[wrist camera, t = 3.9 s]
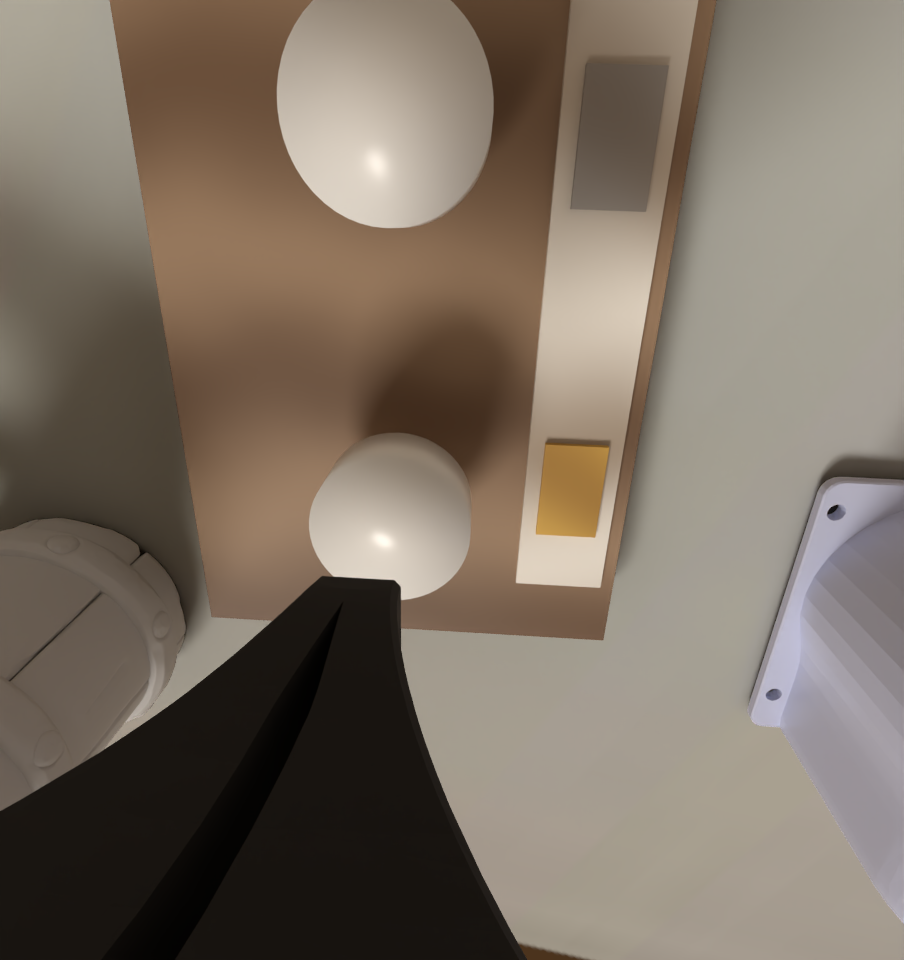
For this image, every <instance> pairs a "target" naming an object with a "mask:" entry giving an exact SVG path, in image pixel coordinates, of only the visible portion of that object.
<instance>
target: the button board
mask: <svg viewBox="0 0 904 960" xmlns="http://www.w3.org/2000/svg"><path fill="white" fill-rule="evenodd" d="M312 1H313V0H110V5H111V11H112V17H113V23H114V29H115V35H116V41H117V47H118V53H119V59H120V66H121V72H122V78H123V84H124V90H125V96H126V102H127V108H128V114H129V120H130V126H131V132H132V138H133V144H134V150H135V156H136V162H137V168H138V174H139V180H140V186H141V192H142V198H143V205H144V211H145V217H146V223H147V229H148V235H149V241H150V247H151V253H152V259H153V265H154V271H155V277H156V283H157V289H158V295H159V301H160V307H161V313H162V319H163V325H164V331H165V337H166V343H167V350H168V356H169V362H170V368H171V374H172V380H173V386H174V392H175V398H176V404H177V410H178V416H179V422H180V428H181V434H182V440H183V446H184V452H185V458H186V464H187V470H188V476H189V482H190V489H191V495H192V501H193V507H194V513H195V519H196V525H197V531H198V537H199V543H200V549H201V555H202V561H203V567H204V573H205V579H206V585H207V591H208V597H209V603H210V609H211V615H212V617H220V618H237V619H254V620H270V621H273V620H274V619H275V618H276V617H277V616H278V615H279V614H281V613H282V612H283V611H284V610H285V609H286V608H287V607H288V606H289V605H290V604H291V603H292V602H294V601H295V600H296V599H297V598H298V597H299V596H300V595H301V594H302V593H303V592H304V591H305V590H306V589H307V588H309V587H310V586H311V585H312V584H313V583H314V582H315V581H316V580H318V579H319V578H320V577H321V576H332V577H334V576H333V575H331V574H330V573H329V572H328V570H327V569H326V568H325V567H324V565H323V564H322V563H321V561H320V560H319V558H318V556H317V554H316V552H315V550H314V548H313V545H312V542H311V538H310V532H309V516H310V510H311V506H312V503H313V500H314V498H315V496H316V494H317V492H318V491H319V489H320V487H321V486H322V484H323V483H324V481H325V479H326V478H327V476H328V475H329V473H330V471H331V470H332V468H333V467H334V465H335V463H336V462H337V461H338V459H339V458H340V457H341V455H342V454H343V453H344V452H345V451H346V450H347V449H349V448H350V447H351V446H352V445H354V444H356V443H357V442H359V441H361V440H363V439H365V438H368V437H370V436H374V435H377V434H383V433H407V434H412V435H416V436H420V437H422V438H425V439H428V440H430V441H432V442H434V443H435V444H437V445H439V446H440V447H442V448H443V449H444V450H446V451H447V452H448V453H449V454H450V455H451V456H452V457H453V458H454V459H455V460H456V461H457V463H458V464H459V465H460V467H461V468H462V470H463V472H464V474H465V476H466V478H467V480H468V483H469V487H470V491H471V503H472V506H471V532H470V544H469V549H468V552H467V556H466V558H465V560H464V562H463V564H462V566H461V567H460V569H459V570H458V572H457V573H456V574H455V575H454V576H453V577H452V578H451V579H450V580H449V581H448V582H447V583H446V584H445V585H443V586H442V587H440V588H439V589H437V590H435V591H433V592H431V593H429V594H426V595H424V596H421V597H417V598H412V599H406V600H401V628H405V629H422V630H439V631H456V632H473V633H490V634H506V635H523V636H540V637H557V638H574V639H591V640H603V638H604V633H605V627H606V621H607V616H608V610H609V604H610V599H611V593H612V587H613V582H614V576H615V571H616V565H617V559H618V554H619V548H620V542H621V537H622V531H623V525H624V520H625V514H626V508H627V503H628V497H629V491H630V486H631V480H632V475H633V469H634V463H635V458H636V452H637V446H638V441H639V435H640V429H641V424H642V418H643V412H644V407H645V401H646V395H647V390H648V384H649V379H650V373H651V367H652V362H653V356H654V350H655V345H656V339H657V333H658V328H659V322H660V316H661V311H662V305H663V300H664V294H665V288H666V283H667V277H668V271H669V266H670V260H671V254H672V249H673V243H674V237H675V232H676V226H677V220H678V215H679V209H680V204H681V198H682V192H683V187H684V181H685V175H686V170H687V164H688V158H689V153H690V147H691V141H692V136H693V130H694V124H695V119H696V113H697V108H698V102H699V96H700V91H701V85H702V79H703V74H704V68H705V62H706V57H707V51H708V45H709V40H710V34H711V28H712V23H713V17H714V12H715V6H716V0H451V1H452V2H453V3H454V4H455V5H456V6H457V7H458V8H459V10H460V11H461V12H462V13H463V14H464V15H465V17H466V18H467V20H468V21H469V23H470V24H471V26H472V27H473V29H474V31H475V33H476V35H477V37H478V39H479V41H480V43H481V45H482V47H483V50H484V53H485V56H486V59H487V61H488V65H489V70H490V74H491V79H492V87H493V96H494V113H493V123H492V133H491V142H490V147H489V151H488V155H487V158H486V161H485V164H484V167H483V170H482V172H481V174H480V176H479V178H478V180H477V182H476V183H475V185H474V186H473V188H472V189H471V191H470V192H469V193H468V195H467V196H466V197H465V198H464V199H463V200H462V202H461V203H459V204H458V205H457V206H456V207H455V208H454V209H453V210H451V211H450V212H449V213H447V214H446V215H444V216H443V217H441V218H439V219H437V220H435V221H433V222H430V223H427V224H424V225H421V226H416V227H410V228H380V227H372V226H368V225H364V224H360V223H358V222H355V221H353V220H350V219H348V218H346V217H344V216H343V215H341V214H339V213H337V212H336V211H334V210H333V209H332V208H330V207H329V206H328V205H326V204H325V203H324V202H323V201H322V200H321V199H320V198H319V197H317V196H316V195H315V194H314V193H313V191H312V190H311V189H310V188H309V187H308V185H307V184H306V183H305V182H304V180H303V179H302V177H301V176H300V174H299V172H298V171H297V169H296V168H295V166H294V164H293V162H292V159H291V157H290V155H289V153H288V150H287V148H286V145H285V142H284V139H283V136H282V132H281V127H280V123H279V116H278V109H277V81H278V71H279V67H280V62H281V57H282V54H283V51H284V48H285V45H286V42H287V39H288V37H289V35H290V33H291V31H292V29H293V27H294V25H295V23H296V22H297V20H298V19H299V17H300V16H301V14H302V12H303V11H304V10H305V9H306V8H307V6H308V5H309V4H310V3H311V2H312Z"/></svg>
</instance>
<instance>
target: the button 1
mask: <svg viewBox="0 0 904 960" xmlns="http://www.w3.org/2000/svg"><path fill="white" fill-rule="evenodd" d="M471 506H472V503H471V491H470V487H469V483H468V480H467V478H466V476H465V474H464V472H463V470H462V468H461V467H460V465H459V464H458V463H457V461H456V460H455V459H454V458H453V457H452V456H451V455H450V454H449V453H448V452H447V451H446V450H444V449H443V448H442V447H440V446H439V445H437V444H435V443H434V442H432V441H430V440H428V439H425V438H422V437H420V436H416V435H412V434H407V433H383V434H377V435H374V436H370V437H368V438H365V439H363V440H361V441H359V442H357V443H356V444H354V445H352V446H351V447H350V448H349V449H347V450H346V451H345V452H344V453H343V454H342V455H341V457H340V458H339V459H338V461H337V462H336V463H335V465H334V467H333V468H332V470H331V471H330V473H329V475H328V476H327V478H326V479H325V481H324V483H323V484H322V486H321V487H320V489H319V491H318V492H317V494H316V496H315V498H314V500H313V503H312V506H311V510H310V516H309V532H310V538H311V542H312V545H313V548H314V550H315V552H316V554H317V556H318V558H319V560H320V561H321V563H322V564H323V565H324V567H325V568H326V569H327V570H328V572H329V573H330V574H331V575H333V576H334V577H350V578H367V579H385V580H395V581H396V582H397V583H398V584H399V585H400V586H401V600H406V599H412V598H417V597H421V596H424V595H426V594H429V593H431V592H433V591H435V590H437V589H439V588H440V587H442V586H443V585H445V584H446V583H447V582H448V581H449V580H450V579H451V578H452V577H453V576H454V575H455V574H456V573H457V572H458V570H459V569H460V567H461V566H462V564H463V562H464V560H465V558H466V556H467V552H468V549H469V544H470V532H471Z"/></svg>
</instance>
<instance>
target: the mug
mask: <svg viewBox="0 0 904 960" xmlns="http://www.w3.org/2000/svg"><path fill="white" fill-rule="evenodd" d="M139 555H140V551H139V547H138V545H137V544H136V543H134V542H133V541H132V540H130V539H128V538H127V537H125V536H123V535H121V534H119V533H117V532H115V531H113V530H111V529H105V528H102V527H99V526H96V525H92V524H89V523H85V522H80V521H76V520H70V519H65V518H52V519H42V520H38V519H37V520H33V521H29V522H26V523H24V524H21V525H19V526H17V527H15V528H13V529H7V530H3V531H0V811H1V810H3V809H5V808H7V807H8V806H10V805H12V804H14V803H15V802H17V801H19V800H21V799H23V798H24V797H26V796H28V795H29V794H31V793H33V792H34V791H36V790H38V789H39V788H41V787H43V786H44V785H46V784H48V783H49V782H51V781H53V780H54V779H56V778H58V777H59V776H61V775H63V774H64V773H66V772H68V771H69V770H71V769H73V768H75V767H76V766H78V765H80V764H81V763H83V762H85V761H86V760H88V759H90V758H91V757H93V756H95V755H96V754H98V753H100V752H101V751H103V750H104V748H105V747H106V746H107V745H108V743H109V742H110V741H111V740H112V738H113V737H114V736H115V734H116V733H117V732H118V731H119V729H120V728H121V727H122V725H123V724H124V723H126V722H128V721H131V720H133V719H134V718H138V717H141V716H143V715H144V714H145V713H146V712H147V711H148V710H149V709H150V708H151V707H152V705H153V704H154V702H155V700H156V699H157V698H158V697H159V695H160V694H161V693H162V691H163V690H164V688H165V687H166V686H167V684H168V682H169V680H170V678H171V675H172V673H173V670H174V667H175V663H176V658H177V654H178V652H179V650H180V648H181V646H182V644H183V641H184V637H185V636H184V634H185V632H186V624H185V621H184V615H183V611H182V608H181V605H180V597H179V594H178V592H177V589H176V587H175V585H174V583H173V581H172V579H171V578H170V576H169V575H168V573H167V572H166V571H165V569H164V568H163V567H162V566H161V565H160V564H159V562H158V561H157V560H156V559H155V558H153V557H152V556H151V555H150V554H149V553H145V554H143V555H142V556H140V557H139ZM138 557H139V558H138ZM137 558H138V559H137Z"/></svg>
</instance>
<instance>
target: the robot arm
mask: <svg viewBox="0 0 904 960" xmlns="http://www.w3.org/2000/svg"><path fill="white" fill-rule="evenodd" d="M834 505H838V508H837V510H836V511H835V512H833V513H832V514H827V512H828V510H829V509H830V508H831V507H832V506H834ZM771 689H774V690H773V691H771V692H768V691H769V690H771ZM747 712H748V714H749V716H750V718H751V720H752V721H753V723H755V724H756V725H760V726H770V727H780V728H781V730H782V732H783V734H784V735H785V737H786V739H787V740H788V742H789V744H790V745H791V747H792V749H793V750H794V752H795V754H796V755H797V757H798V759H799V760H800V762H801V764H802V765H803V767H804V769H805V770H806V772H807V774H808V775H809V777H810V779H811V781H812V782H813V784H814V786H815V787H816V789H817V791H818V792H819V794H820V796H821V797H822V799H823V801H824V802H825V804H826V806H827V807H828V809H829V811H830V812H831V814H832V816H833V817H834V819H835V821H836V823H837V824H838V826H839V828H840V829H841V831H842V833H843V834H844V836H845V838H846V839H847V841H848V843H849V844H850V846H851V848H852V849H853V851H854V853H855V854H856V856H857V858H858V859H859V861H860V863H861V865H862V866H863V868H864V870H865V871H866V873H867V875H868V876H869V878H870V880H871V881H872V883H873V885H874V886H875V888H876V889H877V890H878V892H879V893H880V895H881V896H882V898H883V899H884V901H885V902H886V903H887V905H888V906H889V907H890V908H891V909H892V911H893V912H894V913H895V914H896V915H897V917H898V918H899V919H900V920H901V921H902V922H903V923H904V480H897V479H878V478H858V477H833V478H831V479H829V480H827V481H825V482H824V483H823V484H822V485H821V486H820V488H819V490H818V492H817V495H816V499H815V502H814V505H813V508H812V511H811V514H810V517H809V520H808V523H807V526H806V529H805V532H804V536H803V539H802V542H801V545H800V548H799V551H798V554H797V557H796V560H795V563H794V566H793V569H792V573H791V576H790V579H789V582H788V585H787V588H786V591H785V594H784V597H783V600H782V603H781V606H780V610H779V613H778V616H777V619H776V622H775V625H774V628H773V631H772V634H771V637H770V640H769V643H768V647H767V650H766V653H765V656H764V659H763V662H762V665H761V668H760V671H759V674H758V677H757V681H756V684H755V687H754V690H753V693H752V696H751V699H750V702H749V705H748V710H747ZM0 960H527V959H526V957H525V955H524V953H523V951H522V950H521V948H520V946H519V944H518V943H517V941H516V939H515V937H514V935H513V934H512V932H511V930H510V928H509V926H508V924H507V923H506V921H505V919H504V917H503V915H502V913H501V911H500V909H499V907H498V905H497V903H496V901H495V900H494V898H493V896H492V894H491V892H490V890H489V888H488V886H487V884H486V882H485V880H484V879H483V877H482V875H481V872H480V870H479V868H478V866H477V864H476V862H475V860H474V857H473V855H472V853H471V851H470V849H469V847H468V844H467V842H466V840H465V838H464V836H463V834H462V832H461V829H460V827H459V825H458V823H457V821H456V819H455V817H454V814H453V812H452V810H451V808H450V806H449V803H448V801H447V798H446V796H445V793H444V791H443V788H442V786H441V783H440V781H439V778H438V776H437V773H436V771H435V768H434V765H433V763H432V760H431V757H430V754H429V752H428V749H427V746H426V743H425V740H424V737H423V734H422V731H421V728H420V725H419V722H418V718H417V715H416V712H415V708H414V705H413V701H412V697H411V694H410V690H409V686H408V682H407V678H406V673H405V668H404V663H403V658H402V652H401V586H400V585H399V584H398V583H397V582H396V581H395V580H385V579H367V578H350V577H332V576H321V577H320V578H319V579H318V580H316V581H315V582H314V583H313V584H312V585H311V586H310V587H309V588H307V589H306V590H305V591H304V592H303V593H302V594H301V595H300V596H299V597H298V598H297V599H296V600H295V601H294V602H292V603H291V604H290V605H289V606H288V607H287V608H286V609H285V610H284V611H283V612H282V613H281V614H279V615H278V616H277V617H276V618H275V619H274V620H273V621H272V622H271V623H270V624H269V625H267V626H266V627H265V628H264V629H263V630H262V631H261V632H259V633H258V634H257V635H256V636H255V637H254V638H253V639H252V640H250V641H249V642H248V643H247V644H246V645H245V646H244V647H242V648H241V649H240V650H239V651H238V652H237V653H235V654H234V655H233V656H232V657H231V658H230V659H228V660H227V661H226V662H225V663H223V664H222V665H221V666H220V667H218V668H217V669H216V670H215V671H213V672H212V673H211V674H210V675H208V676H207V677H206V678H205V679H203V680H202V681H201V682H200V683H198V684H197V685H196V686H195V687H193V688H192V689H191V690H190V691H188V692H187V693H186V694H184V695H183V696H182V697H180V698H179V699H178V700H176V701H175V702H174V703H172V704H171V705H169V706H168V707H167V708H165V709H164V710H162V711H161V712H160V713H158V714H157V715H155V716H154V717H153V718H151V719H150V720H148V721H147V722H145V723H144V724H142V725H141V726H139V727H138V728H136V729H135V730H133V731H132V732H130V733H129V734H127V735H126V736H124V737H123V738H121V739H120V740H118V741H117V742H115V743H114V744H112V745H111V746H109V747H108V748H106V749H104V750H103V751H101V752H100V753H98V754H96V755H95V756H93V757H91V758H90V759H88V760H86V761H85V762H83V763H81V764H80V765H78V766H76V767H75V768H73V769H71V770H69V771H68V772H66V773H64V774H63V775H61V776H59V777H58V778H56V779H54V780H53V781H51V782H49V783H48V784H46V785H44V786H43V787H41V788H39V789H38V790H36V791H34V792H33V793H31V794H29V795H28V796H26V797H24V798H23V799H21V800H19V801H17V802H15V803H14V804H12V805H10V806H8V807H7V808H5V809H3V810H1V811H0Z"/></svg>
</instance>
